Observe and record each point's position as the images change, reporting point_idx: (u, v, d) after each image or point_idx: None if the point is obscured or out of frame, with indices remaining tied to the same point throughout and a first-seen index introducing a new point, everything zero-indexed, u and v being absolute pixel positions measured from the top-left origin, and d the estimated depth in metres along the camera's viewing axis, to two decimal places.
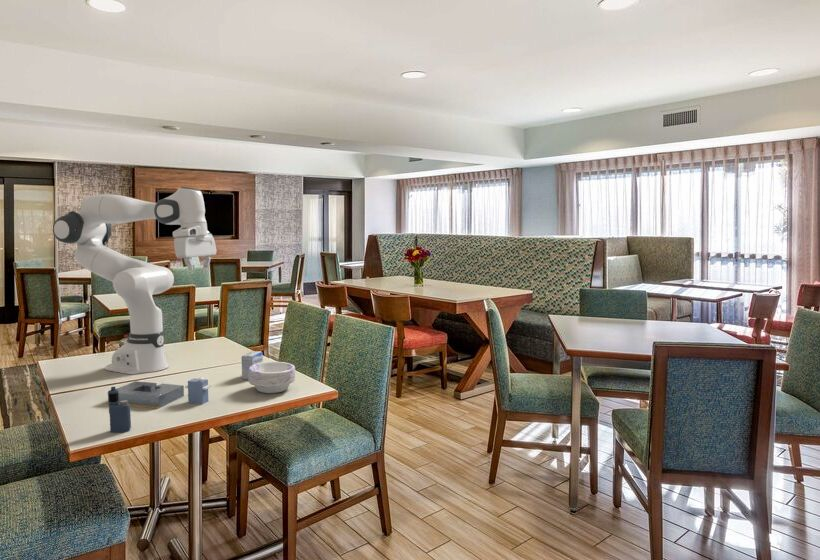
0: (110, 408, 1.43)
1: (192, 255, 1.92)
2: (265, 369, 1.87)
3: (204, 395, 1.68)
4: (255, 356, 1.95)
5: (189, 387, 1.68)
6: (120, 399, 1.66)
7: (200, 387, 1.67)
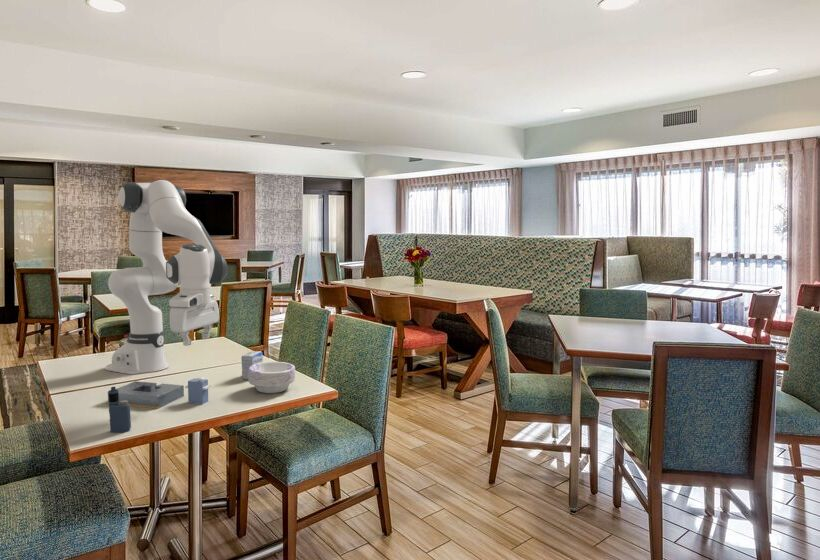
0: (110, 408, 1.43)
1: (190, 328, 1.61)
2: (265, 369, 1.87)
3: (204, 395, 1.68)
4: (255, 356, 1.95)
5: (189, 387, 1.68)
6: (120, 399, 1.66)
7: (200, 387, 1.67)
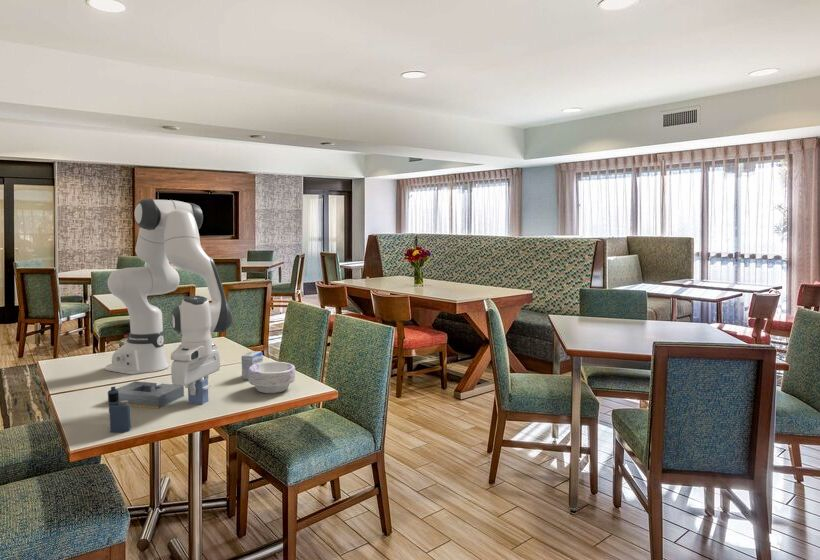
0: (110, 408, 1.43)
1: (191, 381, 1.63)
2: (265, 369, 1.87)
3: (204, 395, 1.68)
4: (255, 356, 1.95)
5: None
6: (120, 399, 1.66)
7: (200, 387, 1.67)
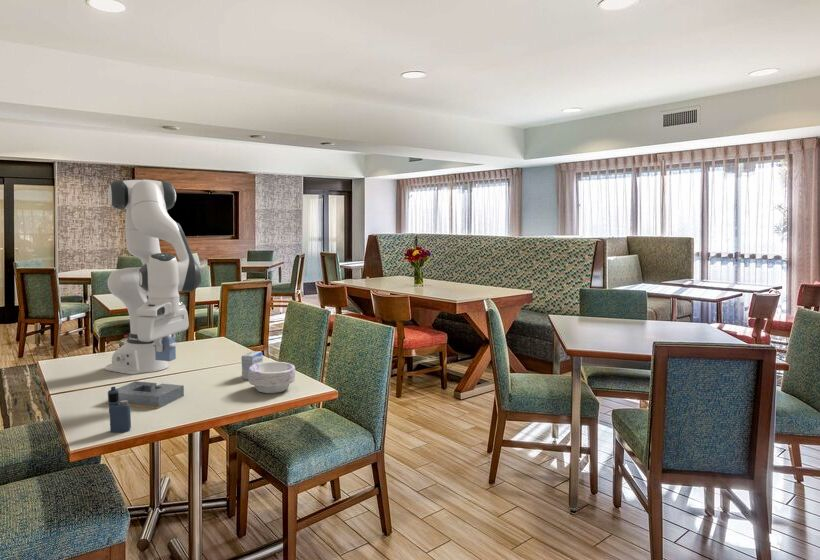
0: (110, 408, 1.43)
1: (158, 337, 1.63)
2: (265, 369, 1.87)
3: (171, 352, 1.68)
4: (255, 356, 1.95)
5: None
6: (120, 399, 1.66)
7: (167, 344, 1.67)
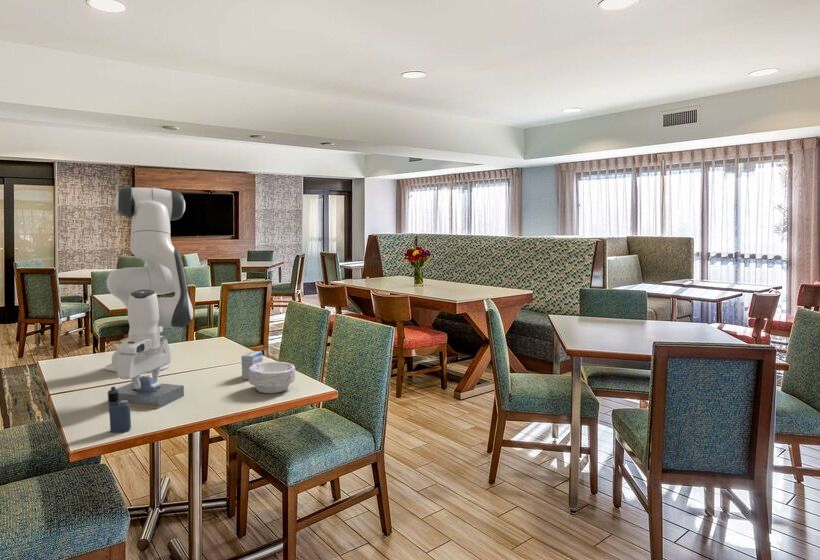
0: (110, 408, 1.43)
1: (138, 374, 1.64)
2: (265, 369, 1.87)
3: None
4: (255, 356, 1.95)
5: None
6: (120, 399, 1.66)
7: (148, 385, 1.69)
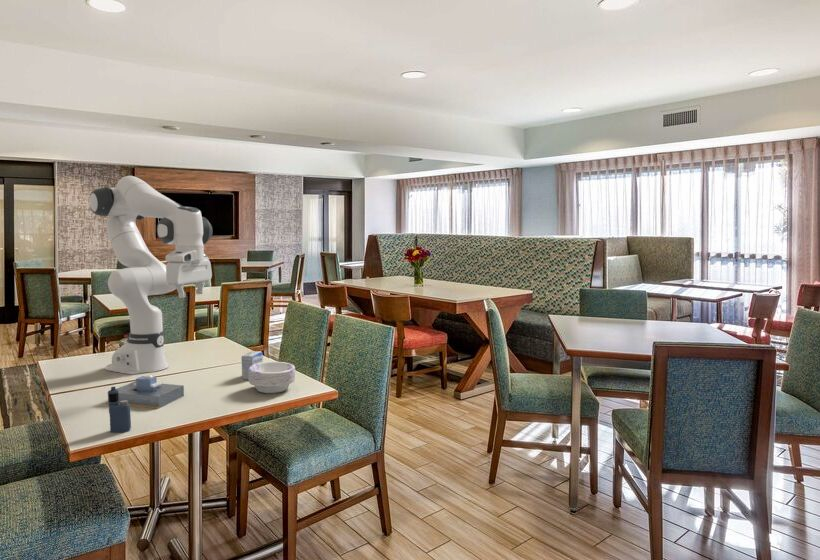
0: (110, 408, 1.43)
1: (185, 282, 1.77)
2: (265, 369, 1.87)
3: None
4: (255, 356, 1.95)
5: (137, 385, 1.69)
6: (120, 399, 1.66)
7: (148, 385, 1.69)
